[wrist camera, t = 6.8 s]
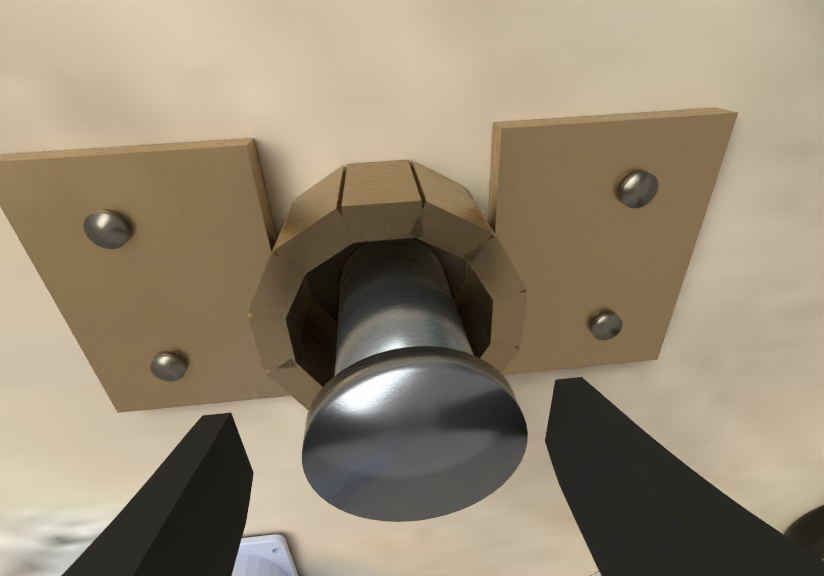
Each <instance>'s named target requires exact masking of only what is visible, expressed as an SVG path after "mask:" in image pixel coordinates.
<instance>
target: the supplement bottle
mask: <svg viewBox="0 0 824 576" xmlns="http://www.w3.org/2000/svg"><path fill="white" fill-rule="evenodd" d="M785 536H786V537H788V538H789V539H791V540H792V541H794V542H795V543H797V544H798V545H800V546H801V547H803V548H804V549H806V550H808V551H809V552H811V553H812V554H814V555H815V556H817V557H819V558H820V559H822V560H823V561H824V506H822V507H819V508H817V509H815V510H813V511H811V512H809V513H808V514H806V515H804V516H803V517H801V518H800V519H798V520H797V521H796V522H795V523H794V524H793V525H791V527H790V528H789V529H788V530H787V532H786V533H785Z"/></svg>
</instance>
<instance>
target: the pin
mask: <svg viewBox="0 0 824 576" xmlns="http://www.w3.org/2000/svg"><path fill="white" fill-rule="evenodd" d="M527 435H528V432H527V426H526V422H525V419H524V416H523V414H522V411H521V409H520V407H519V404H518V402H517V400H516V397H515V395H514V393H513V390H512V388H511V386H510V385H509V383H508V382H507V380H506V379H505V378H504V376H503V375H502V374H501V373H500V372H499V371H498V370H497V369H495V368H494V367H493V366H492V365H491V364H489V363H487V362H486V361H484V360H482V359H480V358H479V357H476V356H474V355H473V352H472V349H471V347H470V344H469V341H468V338H467V335H466V333H465V330H464V327H463V324H462V321H461V319H460V316H459V313H458V310H457V307H456V305H455V302H454V299H453V296H452V293H451V291H450V288H449V285H448V282H447V279H446V277H445V274H444V271H443V268H442V266H441V263H440V261H439V260H438V258H437V256H436V255H435V254H434V253H433V252H432V251H431V250H430V249H429V248H428V247H426V246H425V245H423V244H422V243H420V242H418V241H415V240H412V239H409V238H405V239H392V240H380V241H371V242H369V243H367V244H365V245H363V246H362V247H360V248H359V249H358V250H356V251H355V252H354V253H353V254H352V255H351V257H350V258H349V259H348V260H347V262H346V264H345V266H344V268H343V271H342V275H341V283H340V299H339V315H338V331H337V346H336V362H335V376H334V377H333V378H332V379H331V380H330V381H328V382H327V383H326V385H325V386H324V387H323V388H322V389H321V390H320V391H319V393H318V394H317V396H316V397H315V399H314V401H313V402H312V404H311V407H310V409H309V412H308V415H307V420H306V425H305V433H304V441H303V449H302V464H303V470H304V473H305V475H306V478H307V480H308V482H309V483H310V485H311V486H312V488H313V489H314V490H315V491H316V492H317V494H318V495H319V496H320V497H322V498H323V499H324V500H325V501H327V502H328V503H330V504H331V505H333V506H335V507H336V508H338V509H340V510H342V511H345V512H347V513H350V514H353V515H356V516H359V517H363V518H367V519H372V520H380V521H393V522H402V521H417V520H425V519H430V518H436V517H440V516H443V515H447V514H450V513H453V512H456V511H459V510H462V509H464V508H466V507H469V506H471V505H473V504H475V503H477V502H479V501H480V500H482V499H484V498H485V497H487V496H488V495H490V494H492V493H493V492H494V491H495V490H497V489H498V488H499V487H500V486H502V485H503V484H504V483H505V482H506V481H507V480H508V479H509V478H510V476H511V475H512V474H513V473H514V471H515V470H516V469H517V467H518V465H519V464H520V462H521V460H522V458H523V455H524V453H525V450H526V445H527Z"/></svg>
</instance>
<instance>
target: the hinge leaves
mask: <svg viewBox="0 0 824 576" xmlns="http://www.w3.org/2000/svg"><path fill="white" fill-rule="evenodd" d="M737 114H738V113H737V112H732V111H728V110H723V109H718V108H707V109H691V110H676V111H661V112H645V113H630V114H615V115H599V116H584V117H569V118H553V119H538V120H523V121H508V122H493V134H492V154H491V174H490V194H489V214H488V222H487V221H486V219H485V218H484V216H483V215H482V213H481V212H480V210H479V208H478V207H477V205H476V204H475V202H474V201H473V199H472V197H471V196H470V194H469V193H468V191H467V190H466V189H465V188H464V187H463V186H462V185H460V184H458V183H456V182H454V181H452V180H450V179H448V178H446V177H444V176H442V175H440V174H438V173H436V172H434V171H432V170H430V169H428V168H426V167H424V166H422V165H420V164H418V163H416V162H414V161H412V162H411V164H409V161H408V160H398V161H384V162H370V163H355V164H347V170H346V168H345V167H344V166H342V167H340V168H339V169H338V170H336V171H335V172H333V173H332V174H330V175H329V176H328V177H326V178H325V179H323V180H322V181H320V182H319V183H318V184H316V185H315V186H313V187H312V188H310V189H309V190H308V191H306V192H305V193H303V194H302V195H300V196H299V197H297V198H296V199H295V202H293V204H292V206H291V208H290V211H289V213H288V215H287V218H286V220H285V222H284V225H283V227H282V229H281V232H280V234H279V236H278V239H276V234H275V230H274V226H273V221H272V217H271V213H270V208H269V204H268V199H267V195H266V191H265V186H264V182H263V178H262V173H261V169H260V164H259V160H258V156H257V151H256V147H255V142H254V138H247V139H232V140H217V141H201V142H186V143H171V144H155V145H140V146H125V147H109V148H94V149H79V150H64V151H48V152H33V153H18V154H2V155H0V206H1V208H2V210H3V212H4V213H5V215H6V217H7V219H8V220H9V222H10V224H11V226H12V227H13V229H14V231H15V233H16V234H17V236H18V238H19V240H20V242H21V243H22V245H23V247H24V249H25V250H26V252H27V254H28V256H29V257H30V259H31V261H32V263H33V264H34V266H35V268H36V270H37V271H38V273H39V275H40V277H41V278H42V280H43V282H44V284H45V285H46V287H47V289H48V291H49V293H50V294H51V296H52V298H53V300H54V301H55V303H56V305H57V307H58V308H59V310H60V312H61V314H62V315H63V317H64V319H65V321H66V322H67V324H68V326H69V328H70V329H71V331H72V333H73V335H74V336H75V338H76V340H77V342H78V344H79V345H80V347H81V349H82V351H83V352H84V354H85V356H86V358H87V359H88V361H89V363H90V365H91V366H92V368H93V370H94V372H95V373H96V375H97V377H98V379H99V380H100V382H101V384H102V386H103V387H104V389H105V391H106V393H107V395H108V396H109V398H110V400H111V402H112V403H113V405H114V407H115V409H116V410H117V412H118V413H119V412H129V411H139V410H149V409H159V408H169V407H180V406H190V405H200V404H210V403H220V402H230V401H240V400H251V399H261V398H271V397H281V396H292V397H294V398H295V399H296V400H297V401H298V402H299V403H301V404H302V405H303V406H304V407H305V408H306V409H307V410H309V409H310V407H311V404H312V402H313V401H314V399H315V397H316V396H317V394H318V393H319V391H320V390H321V389H322V388H323V387H324V386H325V385H326V383H327V382H328V381H330V380H331V379H332V378H333V377H334V376H335V362H336V346H337V331H338V322H337V321H336V320H335V319H334V318H333V317H332V316H331V315H330V314H329V313H328V312H327V311H326V310H325V309H324V307H323V306H322V305H321V304H320V303H319V302H318V301H317V300H316V299H315V298H314V297H313V296H312V295H311V294H310V289H309V284H308V278H307V273H308V272H309V271H311V270H312V269H314V268H315V267H317V266H318V265H320V264H322V263H323V262H325V261H326V260H328V259H329V258H331V257H332V256H334V255H335V254H337V253H339V252H340V251H342V250H343V249H345V248H346V247H348V246H349V245H351V244H352V243H355V242H367V241H380V240H392V239H405V238H417V239H419V240H422V241H424V242H426V243H428V244H431V245H433V246H435V247H438V248H440V249H442V250H444V251H447V252H449V253H451V254H453V255H456V256H458V257H460V258H462V259H465V260H466V262H465V281H464V283H463V284H462V286H461V287H460V289H459V291H458V292H457V294H456V295H455V297H454V298H453V299H454V302H455V305H456V307H457V310H458V313H459V316H460V319H461V321H462V324H463V327H464V330H465V333H466V335H467V338H468V341H469V344H470V347H471V349H472V352H473V355H474V356H476V357H479V358H480V359H482V360H484V361H486V362H487V363H489V364H491V365H492V366H493V367H494V368H495V369H497V370H498V371H499V372H500V373H501V374H502V375H504V374H514V373H524V372H534V371H545V370H555V369H565V368H575V367H585V366H595V365H605V364H616V363H626V362H636V361H646V360H656V359H658V356H659V353H660V350H661V347H662V344H663V340H664V337H665V334H666V331H667V328H668V325H669V322H670V319H671V316H672V313H673V310H674V307H675V304H676V301H677V298H678V295H679V292H680V289H681V285H682V282H683V279H684V276H685V273H686V270H687V267H688V264H689V261H690V258H691V255H692V252H693V249H694V246H695V243H696V240H697V237H698V234H699V230H700V227H701V224H702V221H703V218H704V215H705V212H706V209H707V206H708V203H709V200H710V197H711V194H712V191H713V188H714V185H715V182H716V178H717V175H718V172H719V169H720V166H721V163H722V160H723V157H724V154H725V151H726V148H727V145H728V142H729V139H730V136H731V133H732V130H733V127H734V123H735V120H736V117H737Z"/></svg>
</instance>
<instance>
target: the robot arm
mask: <svg viewBox="0 0 824 576" xmlns="http://www.w3.org/2000/svg"><path fill="white" fill-rule="evenodd" d="M545 443H546V446H547V449H548V452H549V455H550V458H551V461H552V465H553V467H554V470H555V473H556V476H557V479H558V482H559V485H560V487H561V489H562V492H563V494H564V496H565V498H566V500H567V503H568V505H569V507H570V509H571V511H572V514H573V516H574V518H575V520H576V522H577V524H578V527H579V529H580V531H581V533H582V535H583V537H584V539H585V542H586V544H587V546H588V548H589V550H590V552H591V554H592V557H593V559H594V561H595V563H596V565H597V567H598V570H599V572H600V574H601V576H824V561H823V560H822V559H820V558H819V557H817V556H815V555H814V554H812V553H811V552H809V551H808V550H806V549H804V548H803V547H801V546H800V545H798V544H797V543H795V542H794V541H792V540H791V539H789V538H788V537H786V536H785V535H783V534H782V533H780V532H779V531H777V530H776V529H774V528H773V527H771V526H770V525H768V524H767V523H765V522H764V521H762V520H761V519H759V518H758V517H756V516H755V515H753V514H752V513H751V512H749V511H748V510H746V509H745V508H743V507H742V506H741V505H739V504H738V503H736V502H735V501H734V500H732V499H731V498H729V497H728V496H727V495H725V494H724V493H723V492H721V491H720V490H719V489H717V488H716V487H715V486H713V485H712V484H711V483H709V482H708V481H707V480H705V479H704V478H703V477H701V476H700V475H699V474H697V473H696V472H695V471H693V470H692V469H691V468H689V467H688V466H687V465H686V464H684V463H683V462H682V461H681V460H679V459H678V458H677V457H675V456H674V455H673V454H672V453H670V452H669V451H668V450H667V449H666V448H664V447H663V446H662V445H661V444H659V443H658V442H657V441H656V440H655V439H653V438H652V437H651V436H650V435H648V434H647V433H646V432H645V431H644V430H643V429H641V428H640V427H639V426H638V425H637V424H635V423H634V422H633V421H632V420H631V419H630V418H628V417H627V416H626V415H625V414H624V413H623V412H621V411H620V410H619V409H618V408H617V407H616V406H615V405H613V404H612V403H611V402H610V401H609V400H608V399H607V398H605V397H604V396H603V395H602V394H601V393H600V392H598V391H597V390H596V389H595V388H594V387H593V386H592V385H590V384H589V383H588V382H587V381H586V380H585V379H583V378H582V377H577V378H567V379H558V380H555V385H554V391H553V397H552V403H551V409H550V414H549V420H548V426H547V432H546V438H545ZM252 480H253V470H252V468H251V465H250V462H249V460H248V457H247V454H246V451H245V449H244V446H243V443H242V441H241V438H240V435H239V433H238V430H237V427H236V424H235V422H234V419H233V416H232V414H231V413H224V414H214V415H204V416H202V417H201V418H200V419H199V420H198V421H197V423H196V424H195V425H194V426H193V427H192V428H191V430H190V431H189V432H188V433H187V434H186V435H185V437H184V438H183V439H182V440H181V441H180V443H179V444H178V445H177V446H176V447H175V449H174V450H173V451H172V452H171V453H170V455H169V456H168V457H167V458H166V459H165V461H164V462H163V463H162V464H161V465H160V467H159V468H158V469H157V470H156V471H155V473H154V474H153V475H152V476H151V477H150V478H149V480H148V481H147V482H146V483H145V484H144V485H143V487H142V488H141V489H140V490H139V491H138V492H137V493H136V495H135V496H134V497H133V498H132V499H131V500H130V502H129V503H128V504H127V505H126V506H125V507H124V508H123V510H122V511H121V512H120V513H119V514H118V515H117V516H116V518H115V519H114V520H113V521H112V522H111V523H110V524H109V525H108V526H107V527H106V529H105V530H104V531H103V532H102V533H101V534H100V535H99V536H98V537H97V538H96V539H95V540H94V541H93V543H92V544H91V545H90V546H89V547H88V548H87V549H86V550H85V551H84V552H83V553H82V554H81V556H80V557H79V558H78V559H77V560H76V561H75V562H74V563H73V564H72V565H71V566H70V567H69V568H68V569H67V570H66V571H65V572H64V574H63V575H62V576H298V573H297V570H296V567H295V565H294V562H293V559H292V556H291V554H290V551H289V548H288V545H287V542H286V540H285V538H284V537H283V536H282V535H279V534H273V535H264V536H256V537H247V538H242V535H243V532H244V528H245V524H246V519H247V513H248V507H249V501H250V494H251V487H252Z"/></svg>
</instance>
